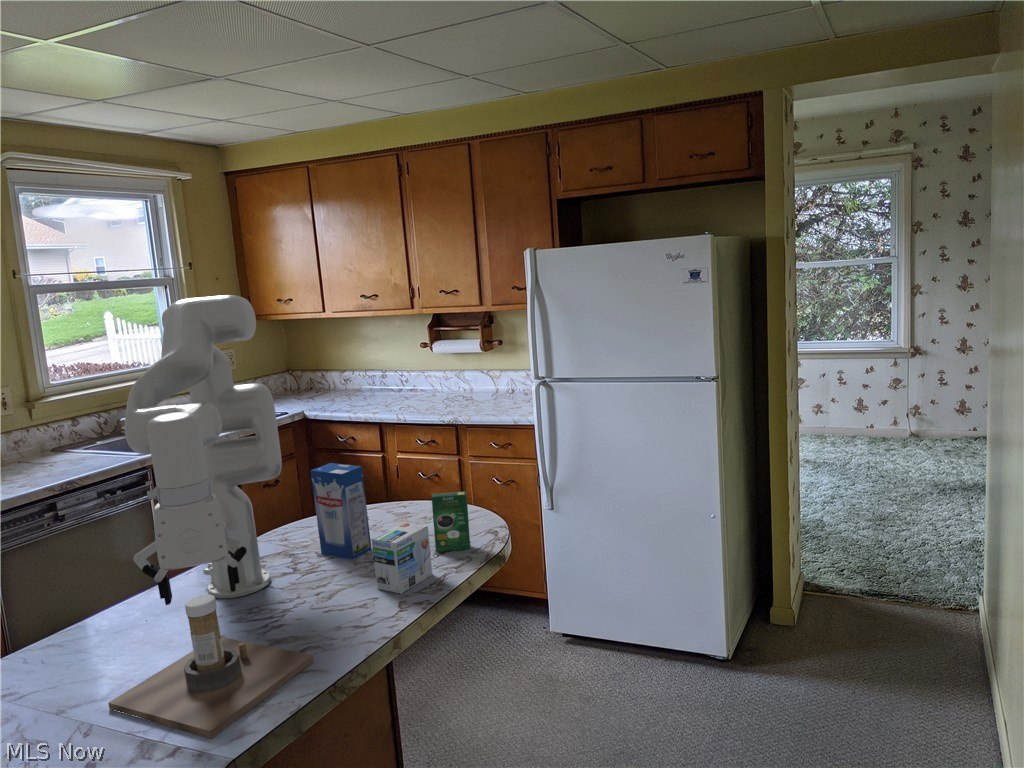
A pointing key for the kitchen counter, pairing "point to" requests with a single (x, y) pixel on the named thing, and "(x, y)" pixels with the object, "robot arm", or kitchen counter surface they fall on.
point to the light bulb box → (402, 557)
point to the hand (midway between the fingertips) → (201, 594)
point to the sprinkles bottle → (205, 633)
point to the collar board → (211, 704)
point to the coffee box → (451, 521)
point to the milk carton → (341, 510)
